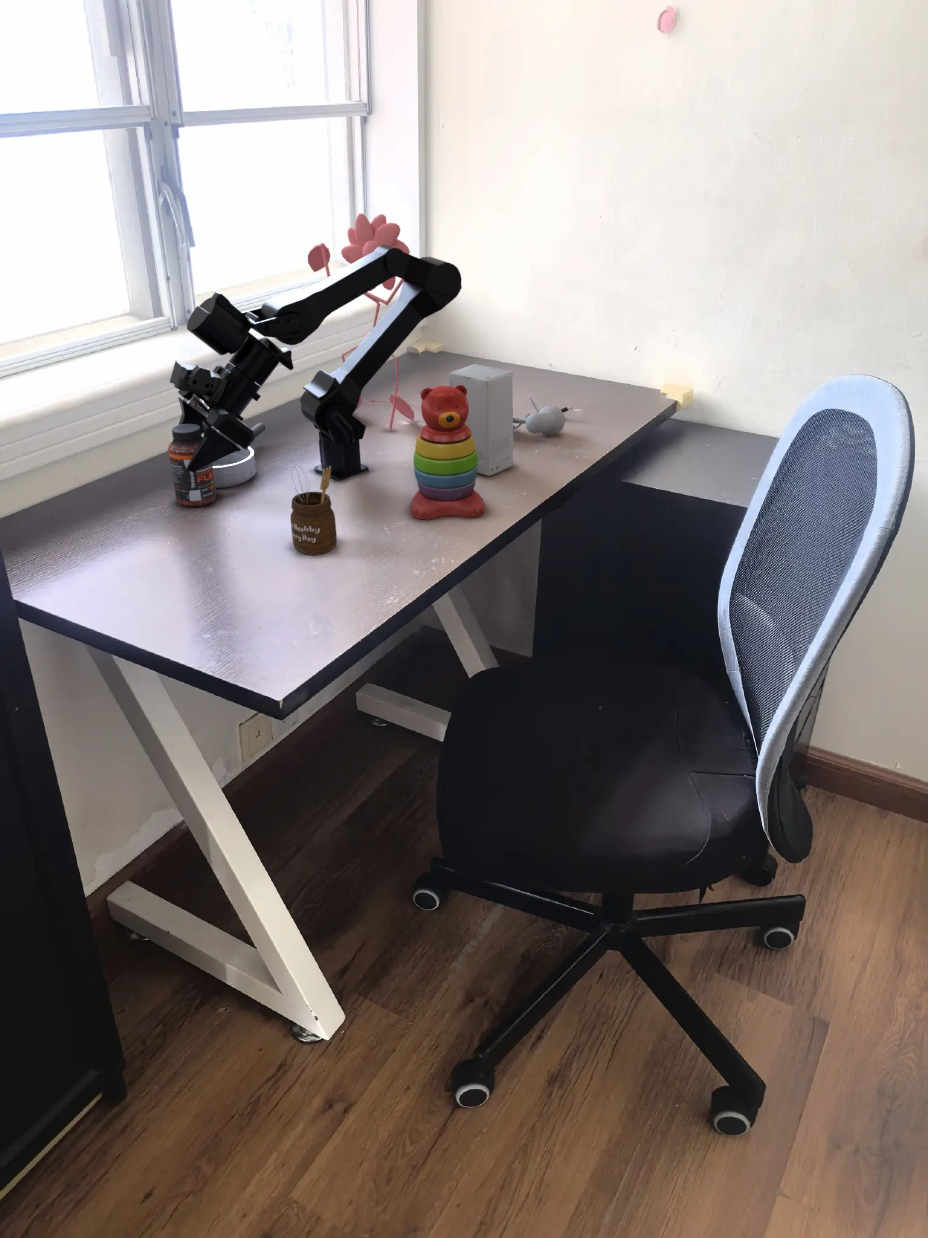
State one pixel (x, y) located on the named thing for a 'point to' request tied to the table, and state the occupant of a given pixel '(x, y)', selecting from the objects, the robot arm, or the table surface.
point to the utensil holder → (313, 519)
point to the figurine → (363, 244)
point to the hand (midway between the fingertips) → (181, 460)
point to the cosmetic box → (489, 414)
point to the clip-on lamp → (543, 420)
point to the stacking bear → (445, 457)
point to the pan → (234, 468)
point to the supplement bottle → (186, 483)
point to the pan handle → (258, 429)
